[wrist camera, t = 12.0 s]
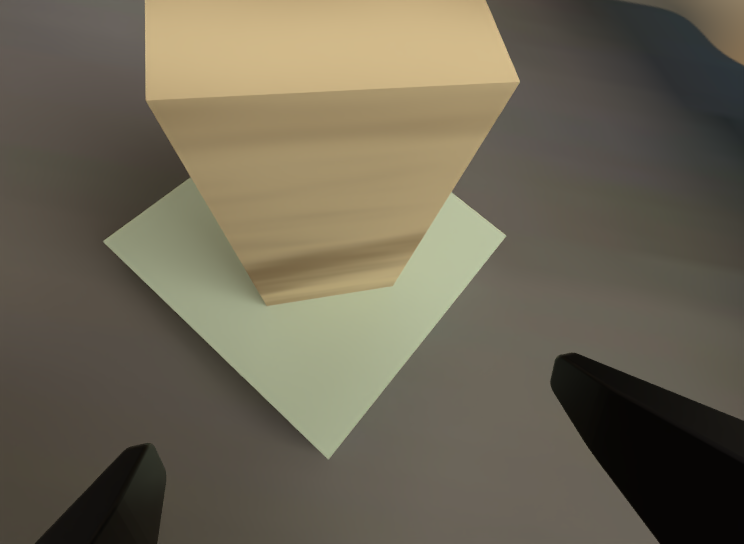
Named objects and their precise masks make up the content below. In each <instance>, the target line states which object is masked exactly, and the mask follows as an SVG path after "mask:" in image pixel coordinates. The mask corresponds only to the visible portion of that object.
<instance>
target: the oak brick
mask: <svg viewBox="0 0 744 544" xmlns="http://www.w3.org/2000/svg"><path fill="white" fill-rule="evenodd" d="M145 66H146V102H147V104H148V105H149V107H150V109H151V110H152V112H153V114H154V115H155V117H156V119H157V121H158V122H159V124H160V126H161V127H162V129H163V131H164V132H165V134H166V136H167V138H168V139H169V141H170V143H171V144H172V146H173V148H174V149H175V151H176V153H177V155H178V156H179V158H180V160H181V161H182V163H183V165H184V166H185V168H186V170H187V172H188V173H189V175H190V177H191V178H192V180H193V182H194V183H195V185H196V187H197V188H198V190H199V192H200V194H201V195H202V197H203V199H204V200H205V202H206V204H207V205H208V207H209V209H210V211H211V212H212V214H213V216H214V217H215V219H216V221H217V222H218V224H219V226H220V228H221V229H222V231H223V233H224V234H225V236H226V238H227V239H228V241H229V243H230V245H231V246H232V248H233V250H234V251H235V253H236V255H237V256H238V258H239V260H240V262H241V263H242V265H243V267H244V268H245V270H246V272H247V273H248V275H249V277H250V279H251V280H252V282H253V284H254V285H255V287H256V289H257V290H258V292H259V294H260V295H261V297H262V299H263V301H264V302H265V304H266V306H270V305H277V304H283V303H289V302H296V301H302V300H308V299H314V298H321V297H327V296H333V295H340V294H346V293H352V292H359V291H365V290H371V289H377V288H384V287H390V286H393V285H394V283H395V282H396V280H397V278H398V277H399V275H400V274H401V272H402V270H403V269H404V267H405V266H406V264H407V262H408V261H409V259H410V258H411V256H412V254H413V253H414V251H415V250H416V248H417V246H418V245H419V243H420V242H421V240H422V238H423V237H424V235H425V234H426V232H427V230H428V229H429V227H430V226H431V224H432V222H433V221H434V219H435V217H436V216H437V214H438V213H439V211H440V209H441V208H442V206H443V205H444V203H445V201H446V200H447V198H448V197H449V195H450V193H451V192H452V190H453V189H454V187H455V185H456V184H457V182H458V181H459V179H460V177H461V176H462V174H463V173H464V171H465V169H466V168H467V166H468V165H469V163H470V161H471V160H472V158H473V157H474V155H475V153H476V152H477V150H478V149H479V147H480V145H481V144H482V142H483V140H484V139H485V137H486V136H487V134H488V132H489V131H490V129H491V128H492V126H493V124H494V123H495V121H496V120H497V118H498V116H499V115H500V113H501V112H502V110H503V108H504V107H505V105H506V104H507V102H508V100H509V99H510V97H511V96H512V94H513V92H514V91H515V89H516V88H517V86H518V84H519V83H520V81H519V78H518V76H517V73H516V71H515V69H514V66H513V64H512V62H511V59H510V57H509V55H508V52H507V50H506V47H505V45H504V43H503V40H502V38H501V36H500V33H499V31H498V29H497V26H496V24H495V21H494V19H493V17H492V14H491V12H490V10H489V7H488V5H487V3H486V0H145Z"/></svg>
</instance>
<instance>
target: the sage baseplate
mask: <svg viewBox="0 0 744 544" xmlns="http://www.w3.org/2000/svg"><path fill="white" fill-rule="evenodd" d="M505 237H506V235H505V234H503V233H502V232H501V231H500V230H498V229H497V228H496V227H494V226H493V225H492V224H491V223H489V222H488V221H487V220H486V219H484V218H483V217H482V216H481V215H479V214H478V213H477V212H476V211H474V210H473V209H472V208H471V207H469V206H468V205H467V204H465V203H464V202H463V201H462V200H460V199H459V198H458V197H457V196H455V195H454V194H453V193H452V192H451V193H450V195H449V197H448V198H447V200H446V201H445V203H444V205H443V206H442V208H441V209H440V211H439V213H438V214H437V216H436V217H435V219H434V221H433V222H432V224H431V226H430V227H429V229H428V230H427V232H426V234H425V235H424V237H423V238H422V240H421V242H420V243H419V245H418V246H417V248H416V250H415V251H414V253H413V254H412V256H411V258H410V259H409V261H408V262H407V264H406V266H405V267H404V269H403V270H402V272H401V274H400V275H399V277H398V278H397V280H396V282H395V283H394V285H393V286H390V287H384V288H377V289H371V290H365V291H359V292H352V293H346V294H340V295H333V296H327V297H321V298H314V299H308V300H302V301H296V302H289V303H283V304H277V305H270V306H266V304H265V302H264V301H263V299H262V297H261V295H260V294H259V292H258V290H257V289H256V287H255V285H254V284H253V282H252V280H251V279H250V277H249V275H248V273H247V272H246V270H245V268H244V267H243V265H242V263H241V262H240V260H239V258H238V256H237V255H236V253H235V251H234V250H233V248H232V246H231V245H230V243H229V241H228V239H227V238H226V236H225V234H224V233H223V231H222V229H221V228H220V226H219V224H218V222H217V221H216V219H215V217H214V216H213V214H212V212H211V211H210V209H209V207H208V205H207V204H206V202H205V200H204V199H203V197H202V195H201V194H200V192H199V190H198V188H197V187H196V185H195V183H194V182H193V180H192V178H191V177H190V178H189V179H187V180H186V181H185V182H183V183H182V184H181V185H179V186H178V187H177V188H175V189H174V190H172V191H171V192H170V193H168V194H167V195H166V196H164V197H163V198H161V199H160V200H159V201H157V202H156V203H155V204H153V205H152V206H151V207H149V208H148V209H146V210H145V211H144V212H142V213H141V214H140V215H138V216H137V217H135V218H134V219H133V220H131V221H130V222H129V223H127V224H126V225H124V226H123V227H122V228H120V229H119V230H118V231H116V232H115V233H114V234H112V235H111V236H109V237H108V238H107V239H105V240H104V241H103V242H104V243H105V244H106V245H107V246H108V247H109V248H110V249H111V250H112V251H113V252H114V253H115V254H116V255H117V256H118V257H119V258H120V259H121V260H123V261H124V262H125V263H126V264H127V265H128V266H129V267H130V268H131V269H132V270H133V271H134V272H135V273H136V274H137V275H138V276H139V277H140V278H141V279H142V280H143V281H144V282H145V283H146V284H147V285H148V286H149V287H150V288H151V289H153V290H154V291H155V292H156V293H157V294H158V295H159V296H160V297H161V298H162V299H163V300H164V301H165V302H166V303H167V304H168V305H169V306H170V307H171V308H172V309H173V310H174V311H175V312H176V313H177V314H178V315H179V316H180V317H181V318H183V319H184V320H185V321H186V322H187V323H188V324H189V325H190V326H191V327H192V328H193V329H194V330H195V331H196V332H197V333H198V334H199V335H200V336H201V337H202V338H203V339H204V340H205V341H206V342H207V343H208V344H209V345H210V346H211V347H212V348H214V349H215V350H216V351H217V352H218V353H219V354H220V355H221V356H222V357H223V358H224V359H225V360H226V361H227V362H228V363H229V364H230V365H231V366H232V367H233V368H234V369H235V370H236V371H237V372H238V373H239V374H240V375H241V376H242V377H244V378H245V379H246V380H247V381H248V382H249V383H250V384H251V385H252V386H253V387H254V388H255V389H256V390H257V391H258V392H259V393H260V394H261V395H262V396H263V397H264V398H265V399H266V400H267V401H268V402H269V403H270V404H271V405H272V406H274V407H275V408H276V409H277V410H278V411H279V412H280V413H281V414H282V415H283V416H284V417H285V418H286V419H287V420H288V421H289V422H290V423H291V424H292V425H293V426H294V427H295V428H296V429H297V430H298V431H299V432H300V433H301V434H302V435H304V436H305V437H306V438H307V439H308V440H309V441H310V442H311V443H312V444H313V445H314V446H315V447H316V448H317V449H318V450H319V451H320V452H321V453H322V454H323V455H324V456H325V457H326V458H327V459H329V458H330V457H331V456H332V454H333V453H334V452H335V451H336V449H337V448H338V447H339V446H340V444H341V443H342V442H343V441H344V439H345V438H346V437H347V435H348V434H349V433H350V432H351V430H352V429H353V428H354V427H355V425H356V424H357V423H358V422H359V420H360V419H361V418H362V417H363V415H364V414H365V413H366V412H367V410H368V409H369V408H370V407H371V405H372V404H373V403H374V402H375V400H376V399H377V398H378V397H379V395H380V394H381V393H382V392H383V390H384V389H385V388H386V386H387V385H388V384H389V383H390V381H391V380H392V379H393V378H394V376H395V375H396V374H397V373H398V371H399V370H400V369H401V368H402V366H403V365H404V364H405V363H406V361H407V360H408V359H409V358H410V356H411V355H412V354H413V353H414V351H415V350H416V349H417V348H418V346H419V345H420V344H421V343H422V341H423V340H424V339H425V337H426V336H427V335H428V334H429V332H430V331H431V330H432V329H433V327H434V326H435V325H436V324H437V322H438V321H439V320H440V319H441V317H442V316H443V315H444V314H445V312H446V311H447V310H448V309H449V307H450V306H451V305H452V304H453V302H454V301H455V300H456V299H457V297H458V296H459V295H460V294H461V292H462V291H463V290H464V288H465V287H466V286H467V285H468V283H469V282H470V281H471V280H472V278H473V277H474V276H475V275H476V273H477V272H478V271H479V270H480V268H481V267H482V266H483V265H484V263H485V262H486V261H487V260H488V258H489V257H490V256H491V255H492V253H493V252H494V251H495V250H496V248H497V247H498V246H499V245H500V243H501V242H502V241H503V239H504V238H505Z"/></svg>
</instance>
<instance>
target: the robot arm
mask: <svg viewBox="0 0 744 544" xmlns="http://www.w3.org/2000/svg"><path fill="white" fill-rule="evenodd" d="M550 383H551V388H552V390H553V392H554V394H555V395H556V397H557V399H558V400H559V402H560V403H561V405H562V407H563V408H564V410H565V412H566V413H567V415H568V416H569V418H570V420H571V421H572V423H573V424H574V426H575V428H576V429H577V431H578V432H579V434H580V436H581V437H582V439H583V440H584V442H585V443H586V445H587V446H588V448H589V450H590V451H591V452H592V454H593V455H594V456H595V458H596V459H597V461H598V462H599V463H600V465H601V466H602V467H603V469H604V470H605V471H606V473H607V474H608V475H609V477H610V478H611V479H612V481H613V482H614V483H615V485H616V486H617V487H618V489H619V490H620V491H621V493H622V494H623V495H624V497H625V498H626V499H627V501H628V502H629V503H630V505H631V506H632V507H633V509H634V510H635V511H636V513H637V514H638V515H639V517H640V518H641V519H642V521H643V522H644V523H645V525H646V526H647V527H648V529H649V530H650V531H651V533H652V534H653V535H654V537H655V538H656V539H657V541H658V542H659V543H660V544H744V421H743V420H740V419H738V418H735V417H733V416H730V415H728V414H725V413H723V412H720V411H718V410H715V409H713V408H710V407H708V406H706V405H703V404H701V403H698V402H696V401H693V400H691V399H688V398H686V397H683V396H681V395H678V394H676V393H673V392H671V391H668V390H666V389H663V388H661V387H659V386H656V385H654V384H651V383H649V382H646V381H644V380H641V379H639V378H636V377H634V376H631V375H629V374H626V373H624V372H621V371H619V370H616V369H614V368H612V367H609V366H607V365H604V364H602V363H599V362H597V361H594V360H592V359H589V358H587V357H584V356H582V355H579V354H577V353H567V354H563V355H559V356H557V358H556V359H555V363H554V367H553V371H552V376H551V381H550ZM165 485H166V471H165V468H164V466H163V464H162V461H161V459H160V457H159V455H158V453H157V451H156V448H155V447H154V445H153V444H151V443H146V444H141V445H136V446H132V447H129V448H127V449H126V450H124V451H123V452H122V453H121V454H120V455H119V456H118V457H117V459H116V460H115V461H114V462H113V463H112V464H111V465H110V466H109V467H108V468H107V469H106V470H105V471H104V472H103V473H102V474H101V475H100V476H99V477H98V478H97V479H96V480H95V481H94V482H93V483H92V485H91V486H90V487H89V488H88V489H87V490H86V491H85V492H84V493H83V494H82V495H81V496H80V497H79V498H78V499H77V500H76V501H75V502H74V503H73V504H72V505H71V506H70V507H69V508H68V510H67V511H66V512H65V513H64V514H63V515H62V516H61V517H60V518H59V519H58V520H57V521H56V522H55V523H54V524H53V525H52V526H51V527H50V528H49V529H48V530H47V531H46V532H45V533H44V535H43V536H42V537H41V538H40V539H39V540H38V541H37V542H36V543H35V544H157V541H158V534H159V527H160V520H161V513H162V506H163V499H164V492H165Z"/></svg>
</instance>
